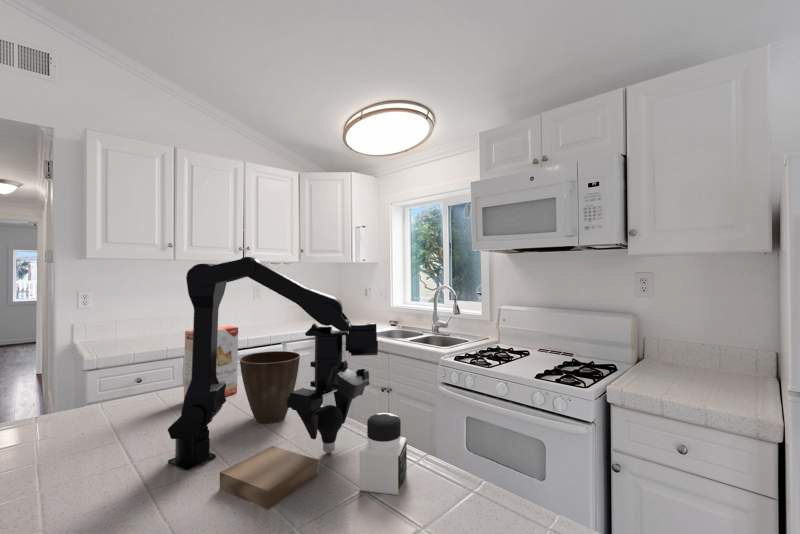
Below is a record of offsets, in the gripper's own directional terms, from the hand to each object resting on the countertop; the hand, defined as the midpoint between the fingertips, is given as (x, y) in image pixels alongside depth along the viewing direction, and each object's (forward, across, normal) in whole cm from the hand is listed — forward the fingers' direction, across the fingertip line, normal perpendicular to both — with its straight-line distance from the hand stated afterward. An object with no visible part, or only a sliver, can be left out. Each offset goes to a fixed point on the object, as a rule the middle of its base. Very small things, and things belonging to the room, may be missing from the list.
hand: (328, 430), depth 83 cm
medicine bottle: (+5, -4, -16) cm, 17 cm away
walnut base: (+5, -14, +2) cm, 15 cm away
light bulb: (+5, 0, 0) cm, 5 cm away
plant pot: (+5, +8, +26) cm, 28 cm away
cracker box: (+5, +11, +54) cm, 55 cm away
